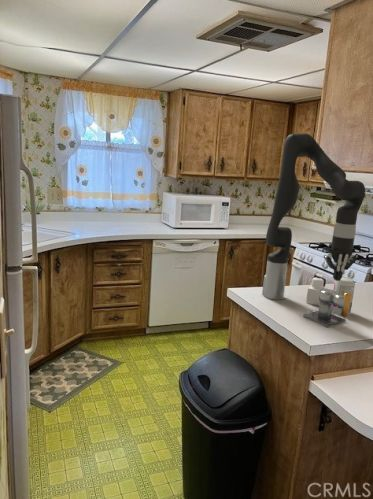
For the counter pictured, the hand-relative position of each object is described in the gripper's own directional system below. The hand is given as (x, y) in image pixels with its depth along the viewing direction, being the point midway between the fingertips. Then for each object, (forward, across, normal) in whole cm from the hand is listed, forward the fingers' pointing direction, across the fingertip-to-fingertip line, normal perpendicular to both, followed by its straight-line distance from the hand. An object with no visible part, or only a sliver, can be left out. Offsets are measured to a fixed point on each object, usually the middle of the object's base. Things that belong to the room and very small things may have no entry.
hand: (337, 280), depth 154 cm
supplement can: (+20, +14, +16) cm, 29 cm away
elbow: (+15, +4, +5) cm, 17 cm away
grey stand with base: (+20, +2, +9) cm, 22 cm away
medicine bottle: (+20, +9, +28) cm, 36 cm away
